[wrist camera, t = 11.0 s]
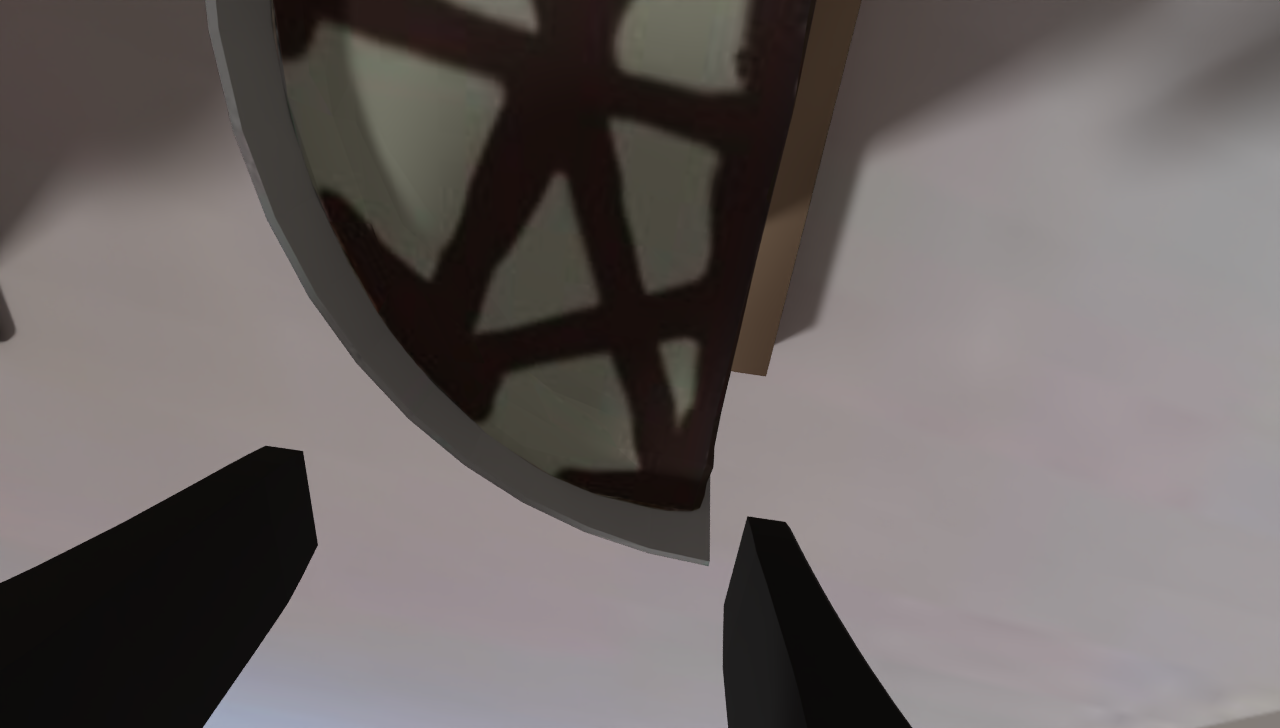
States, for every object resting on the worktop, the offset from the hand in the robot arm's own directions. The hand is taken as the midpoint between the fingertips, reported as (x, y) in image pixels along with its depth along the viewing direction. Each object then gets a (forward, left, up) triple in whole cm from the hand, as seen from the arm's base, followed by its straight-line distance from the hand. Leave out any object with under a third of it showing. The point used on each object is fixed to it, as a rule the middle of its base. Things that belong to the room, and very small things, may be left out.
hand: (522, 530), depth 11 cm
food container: (0, +7, -9) cm, 11 cm away
